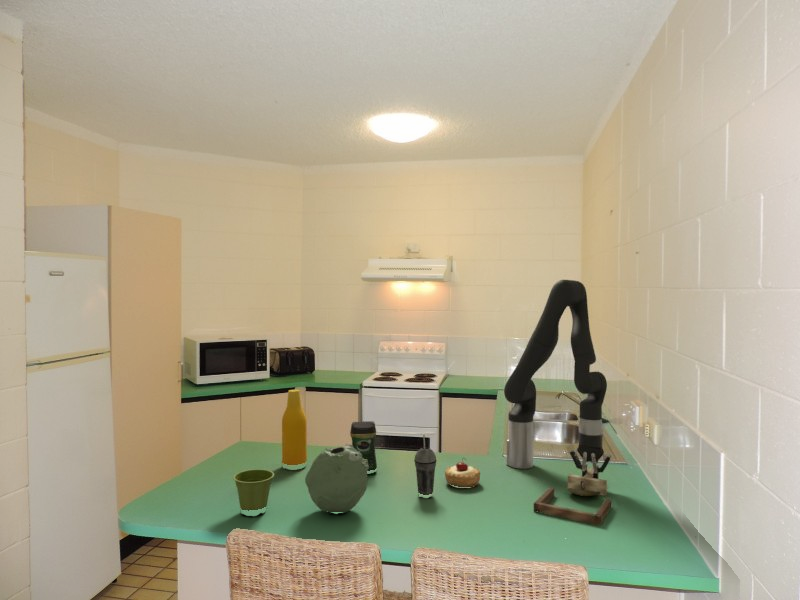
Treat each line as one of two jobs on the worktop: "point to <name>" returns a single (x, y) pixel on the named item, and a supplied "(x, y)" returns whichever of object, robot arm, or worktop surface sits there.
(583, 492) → the lid
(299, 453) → the beer bottle
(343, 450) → the round grey vase
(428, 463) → the beverage cup
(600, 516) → the walnut bay
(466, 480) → the pastry
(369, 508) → the worktop surface
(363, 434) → the coffee jar
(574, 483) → the wooden pusher
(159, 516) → the worktop surface
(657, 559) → the worktop surface
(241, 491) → the plant pot
